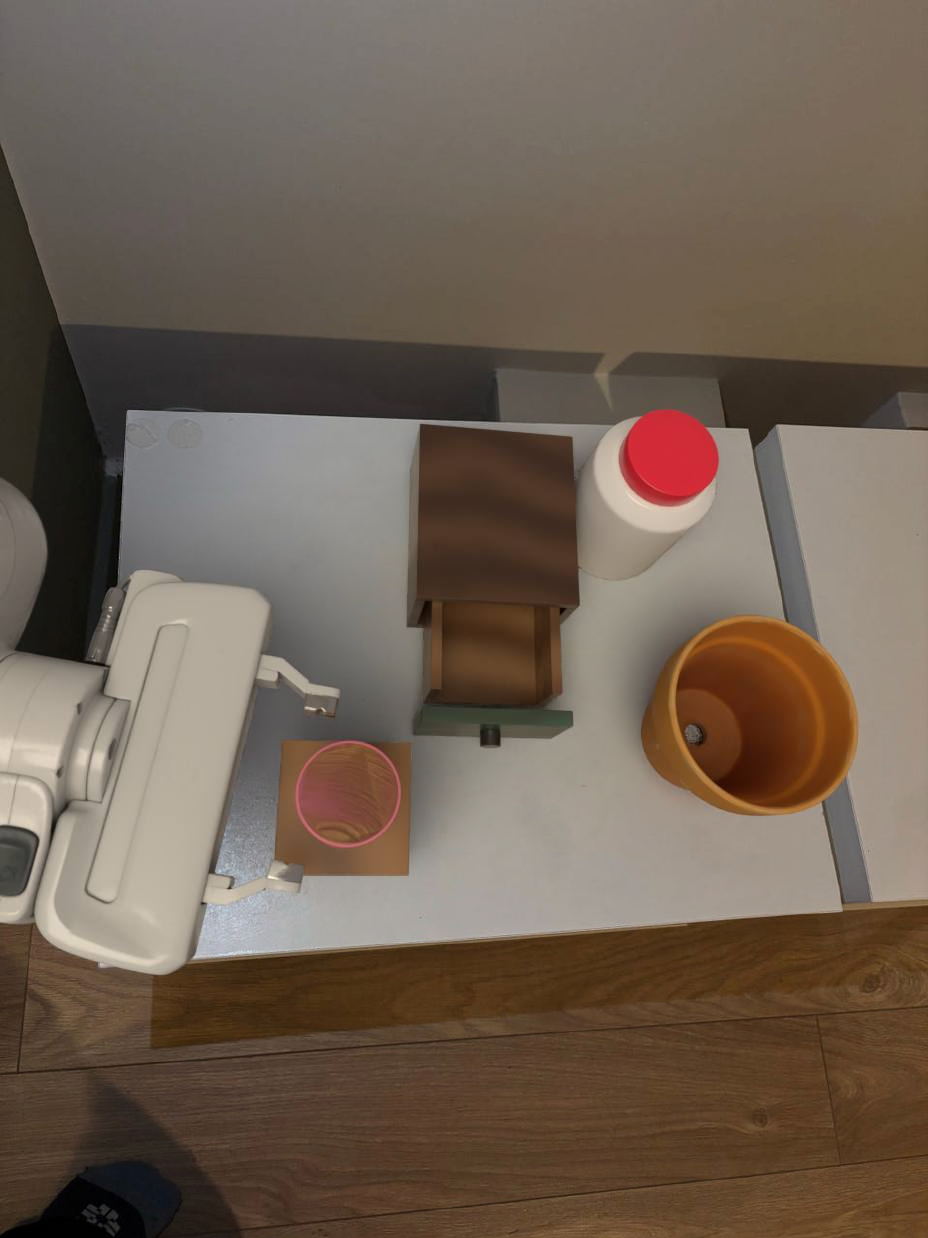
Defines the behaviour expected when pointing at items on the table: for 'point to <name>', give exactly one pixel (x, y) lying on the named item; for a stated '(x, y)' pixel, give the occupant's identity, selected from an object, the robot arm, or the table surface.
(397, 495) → the table surface
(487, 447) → the cabinet
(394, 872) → the stand
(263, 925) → the table surface
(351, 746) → the pink-rimmed cylinder
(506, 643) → the drawer
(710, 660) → the flower pot
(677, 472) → the pill bottle
